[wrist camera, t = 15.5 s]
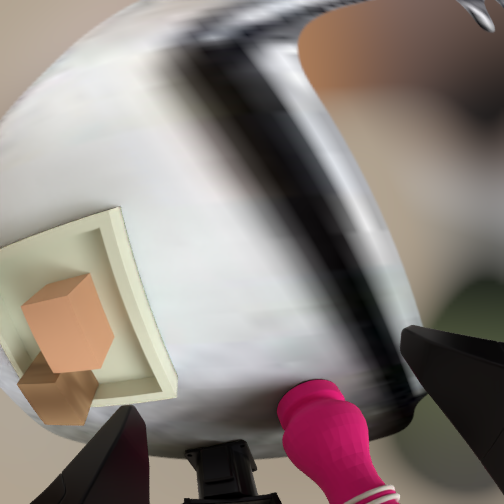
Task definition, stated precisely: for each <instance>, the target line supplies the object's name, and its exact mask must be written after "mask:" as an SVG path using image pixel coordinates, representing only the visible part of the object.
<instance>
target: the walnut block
mask: <svg viewBox="0 0 504 504" xmlns="http://www.w3.org/2000/svg"><path fill="white" fill-rule="evenodd" d="M17 385H18V387H19V388H20V390H21V392H22V393H23V395H24V396H25V398H26V399H27V400H28V402H29V403H30V405H31V406H32V408H33V409H34V410H35V412H36V413H37V414H38V416H39V417H40V418H41V420H42V421H43V422H44V424H48V425H84V424H85V421H86V418H87V415H88V412H89V409H90V407H91V404H92V401H93V398H94V396H95V393H96V390H97V388H98V385H99V383H98V381H97V379H96V377H95V376H94V374H93V372H92V370H85V371H76V372H66V373H53V372H52V370H51V368H50V366H49V365H48V363H47V361H46V359H45V357H44V355H43V354H42V352H41V351H40V352H39V354H38V355H37V356H36V358H35V359H34V360H33V362H32V363H31V364H30V366H29V367H28V369H27V370H26V372H25V373H24V374H23V376H22V377H21V379H20V380H19V382H18V383H17Z"/></svg>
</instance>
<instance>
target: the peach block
mask: <svg viewBox="0 0 504 504" xmlns="http://www.w3.org/2000/svg"><path fill="white" fill-rule="evenodd" d="M20 307H21V309H22V311H23V314H24V316H25V318H26V321H27V323H28V325H29V327H30V329H31V332H32V334H33V336H34V338H35V340H36V342H37V344H38V346H39V348H40V350H41V352H42V354H43V355H44V357H45V359H46V361H47V363H48V365H49V366H50V368H51V370H52V372H53V373H66V372H76V371H85V370H94V369H101V367H102V364H103V362H104V360H105V357H106V355H107V353H108V351H109V348H110V346H111V344H112V342H113V339H114V337H115V336H114V334H113V332H112V329H111V327H110V325H109V322H108V320H107V317H106V315H105V312H104V310H103V307H102V305H101V302H100V299H99V297H98V294H97V291H96V288H95V286H94V283H93V280H92V277H91V274H90V273H88V274H84V275H80V276H76V277H73V278H69V279H65V280H61V281H57V282H54V283H50V284H47V285H45V286H44V287H43V288H42V289H40V290H39V291H38V292H37V293H36V294H34V295H33V296H32V297H31V298H30V299H29V300H27V301H26V302H25V303H24V304H23V305H22V306H20Z"/></svg>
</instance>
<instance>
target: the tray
mask: <svg viewBox="0 0 504 504" xmlns="http://www.w3.org/2000/svg"><path fill="white" fill-rule="evenodd" d="M88 273H90V274H91V277H92V280H93V283H94V286H95V288H96V291H97V294H98V297H99V299H100V302H101V305H102V307H103V310H104V312H105V315H106V317H107V320H108V322H109V325H110V327H111V329H112V332H113V334H114V336H115V337H114V339H113V342H112V344H111V346H110V348H109V351H108V353H107V355H106V357H105V360H104V362H103V364H102V367H101V369H94V370H92V372H93V374H94V376H95V377H96V379H97V381H98V383H99V385H98V388H97V390H96V393H95V396H94V398H93V401H92V404H91V407H102V406H114V405H125V404H134V403H143V402H150V401H158V400H164V399H171V398H177V382H178V376H177V373H176V371H175V369H174V366H173V364H172V362H171V359H170V357H169V355H168V352H167V350H166V347H165V345H164V342H163V340H162V337H161V335H160V332H159V329H158V327H157V324H156V322H155V319H154V316H153V313H152V311H151V308H150V305H149V302H148V299H147V296H146V293H145V290H144V287H143V284H142V281H141V278H140V275H139V272H138V269H137V266H136V262H135V259H134V256H133V252H132V249H131V245H130V242H129V238H128V234H127V231H126V227H125V223H124V219H123V215H122V211H121V207H116V208H113V209H109V210H106V211H103V212H100V213H97V214H93V215H90V216H87V217H84V218H81V219H78V220H75V221H72V222H69V223H66V224H63V225H60V226H58V227H55V228H52V229H49V230H46V231H44V232H41V233H38V234H36V235H33V236H30V237H28V238H25V239H22V240H20V241H17V242H15V243H12V244H10V245H8V246H5V247H3V248H0V344H1V346H2V348H3V350H4V351H5V353H6V355H7V357H8V359H9V361H10V362H11V364H12V366H13V368H14V369H15V371H16V373H17V374H18V376H19V378H20V379H21V377H22V376H23V374H24V373H25V372H26V370H27V369H28V367H29V366H30V364H31V363H32V362H33V360H34V359H35V358H36V356H37V355H38V354H39V352H40V351H41V350H40V348H39V346H38V344H37V342H36V340H35V338H34V336H33V334H32V332H31V329H30V327H29V325H28V323H27V321H26V318H25V316H24V314H23V311H22V309H21V307H20V306H22V305H23V304H24V303H25V302H26V301H27V300H29V299H30V298H31V297H32V296H33V295H34V294H36V293H37V292H38V291H39V290H40V289H42V288H43V287H44V286H45V285H47V284H50V283H54V282H57V281H61V280H65V279H69V278H73V277H76V276H80V275H84V274H88Z"/></svg>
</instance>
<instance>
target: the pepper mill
mask: <svg viewBox="0 0 504 504" xmlns="http://www.w3.org/2000/svg"><path fill="white" fill-rule="evenodd" d="M277 415H278V418H279V421H280V423H281V426H282V428H283V429H284V430H285V432H284V435H283V439H282V441H283V447H284V450H285V452H286V454H287V456H288V458H289V459H290V460H291V461H292V463H293V464H294V465H295V466H296V467H297V468H298V469H299V470H301V471H302V472H303V473H304V474H306V475H307V476H308V477H310V478H311V479H312V480H313V481H314V482H315V483H316V484H317V485H318V486H319V487H320V488H321V489H322V490H323V492H324V493H325V495H326V497H327V499H328V501H329V503H330V504H399V503H398V500H399V499H400V495H399V494H397V493H396V492H395V491H394V490H395V488H394V486H393V485H385V483H384V482H383V481H382V480H381V478H380V477H379V476H378V474H377V472H376V470H375V468H374V466H373V464H372V461H371V457H370V454H369V437H368V428H367V424H366V420H365V418H364V417H363V415H362V413H361V411H360V409H359V408H358V407H357V406H355V405H354V404H352V403H350V402H348V401H345V399H344V396H343V395H342V393H341V392H340V390H339V389H338V387H337V386H336V385H335V384H334V383H332V382H330V381H327V380H318V379H317V380H311V381H307V382H305V383H302V384H299V385H298V386H296V387H294V388H292V389H291V390H290V391H289V392H287V393H286V394H285V395H284V396H283V398H282V399H281V400H280V402H279V404H278V407H277Z"/></svg>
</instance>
